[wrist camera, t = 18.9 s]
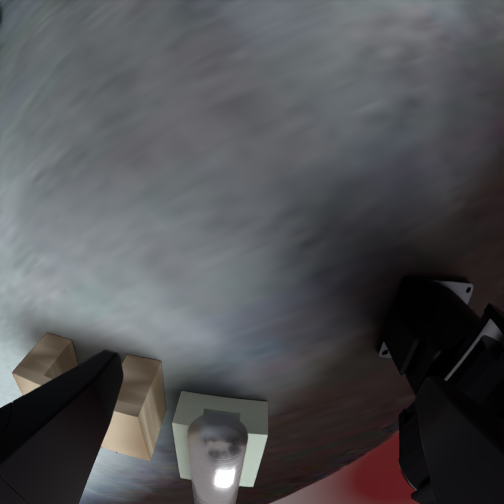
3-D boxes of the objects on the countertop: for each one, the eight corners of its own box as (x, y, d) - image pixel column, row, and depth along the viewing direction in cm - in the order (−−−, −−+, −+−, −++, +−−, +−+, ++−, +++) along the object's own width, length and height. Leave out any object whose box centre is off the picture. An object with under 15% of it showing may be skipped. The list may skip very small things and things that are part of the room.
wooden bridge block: (161, 361, 21) (138, 417, 16) (166, 409, 23) (150, 461, 18) (47, 332, 21) (11, 372, 16) (63, 381, 23) (36, 420, 18)
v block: (267, 401, 22) (267, 434, 19) (254, 459, 26) (252, 486, 23) (181, 390, 22) (172, 422, 19) (186, 451, 26) (180, 477, 23)
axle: (193, 409, 19) (182, 453, 15) (249, 416, 19) (246, 462, 15) (198, 491, 25) (192, 520, 21) (234, 496, 25) (232, 525, 21)
